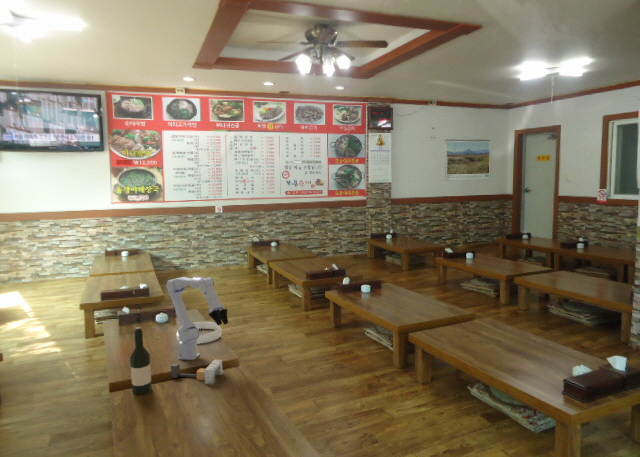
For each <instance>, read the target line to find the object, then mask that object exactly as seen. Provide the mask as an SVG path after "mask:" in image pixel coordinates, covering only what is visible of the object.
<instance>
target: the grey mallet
mask: <svg viewBox="0 0 640 457" xmlns="http://www.w3.org/2000/svg"><path fill="white" fill-rule="evenodd" d="M180 367H181V366H180V363H173V364H171V365H170V376H171V378H173V379H178V378H179V377H182V378H183V377H184V378H186V377H189V378H196V380H198V381H205V369H206V368H202V367H201V368H198V369H197V371H196V373H182V372H181V371H180V369H181V368H180Z"/></svg>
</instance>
